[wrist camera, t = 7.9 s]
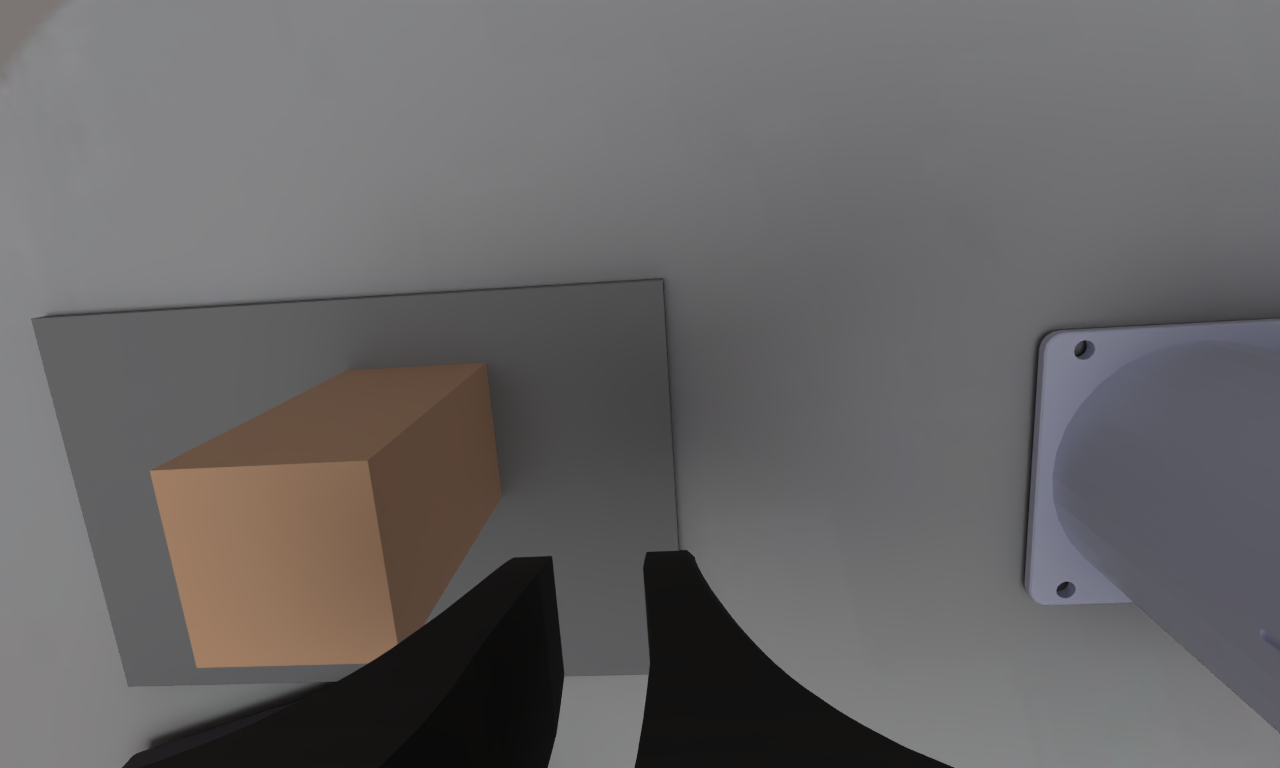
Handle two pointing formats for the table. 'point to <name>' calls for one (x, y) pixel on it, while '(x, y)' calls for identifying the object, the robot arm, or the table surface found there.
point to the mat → (371, 339)
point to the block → (331, 516)
